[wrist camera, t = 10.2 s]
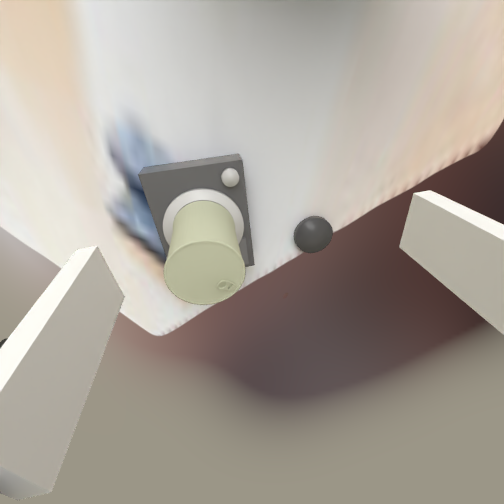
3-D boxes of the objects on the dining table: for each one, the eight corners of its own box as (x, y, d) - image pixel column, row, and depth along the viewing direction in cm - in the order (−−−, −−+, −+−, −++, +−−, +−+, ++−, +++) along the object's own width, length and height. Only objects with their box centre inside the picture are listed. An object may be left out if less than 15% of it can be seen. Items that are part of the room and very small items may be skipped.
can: (215, 263, 42) (219, 317, 32) (161, 239, 38) (147, 291, 28) (246, 219, 39) (262, 264, 29) (191, 188, 35) (187, 226, 25)
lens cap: (286, 234, 47) (288, 237, 46) (315, 207, 46) (318, 210, 44) (308, 255, 50) (311, 259, 49) (336, 231, 49) (339, 235, 47)
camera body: (143, 167, 37) (136, 176, 33) (238, 153, 38) (243, 161, 34) (176, 266, 47) (173, 283, 43) (250, 253, 48) (255, 268, 44)
